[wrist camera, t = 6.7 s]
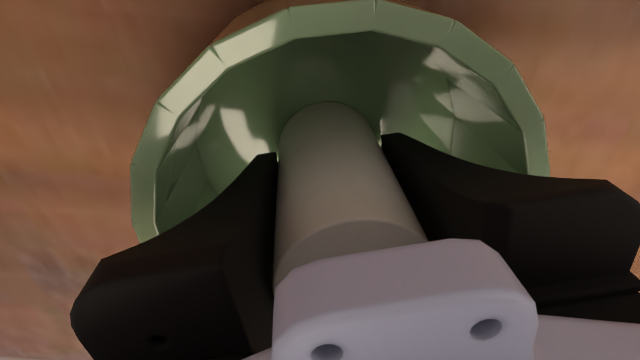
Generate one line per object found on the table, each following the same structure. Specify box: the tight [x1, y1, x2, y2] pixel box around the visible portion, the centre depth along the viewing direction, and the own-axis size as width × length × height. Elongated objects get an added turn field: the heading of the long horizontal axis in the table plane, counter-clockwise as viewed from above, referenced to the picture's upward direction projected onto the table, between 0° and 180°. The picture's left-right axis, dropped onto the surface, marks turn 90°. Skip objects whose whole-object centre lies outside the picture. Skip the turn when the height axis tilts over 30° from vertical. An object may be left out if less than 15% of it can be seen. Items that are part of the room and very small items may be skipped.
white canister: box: [272, 102, 429, 296], centre depth 11 cm, size 4×4×7 cm
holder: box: [130, 0, 550, 244], centre depth 12 cm, size 11×11×6 cm
